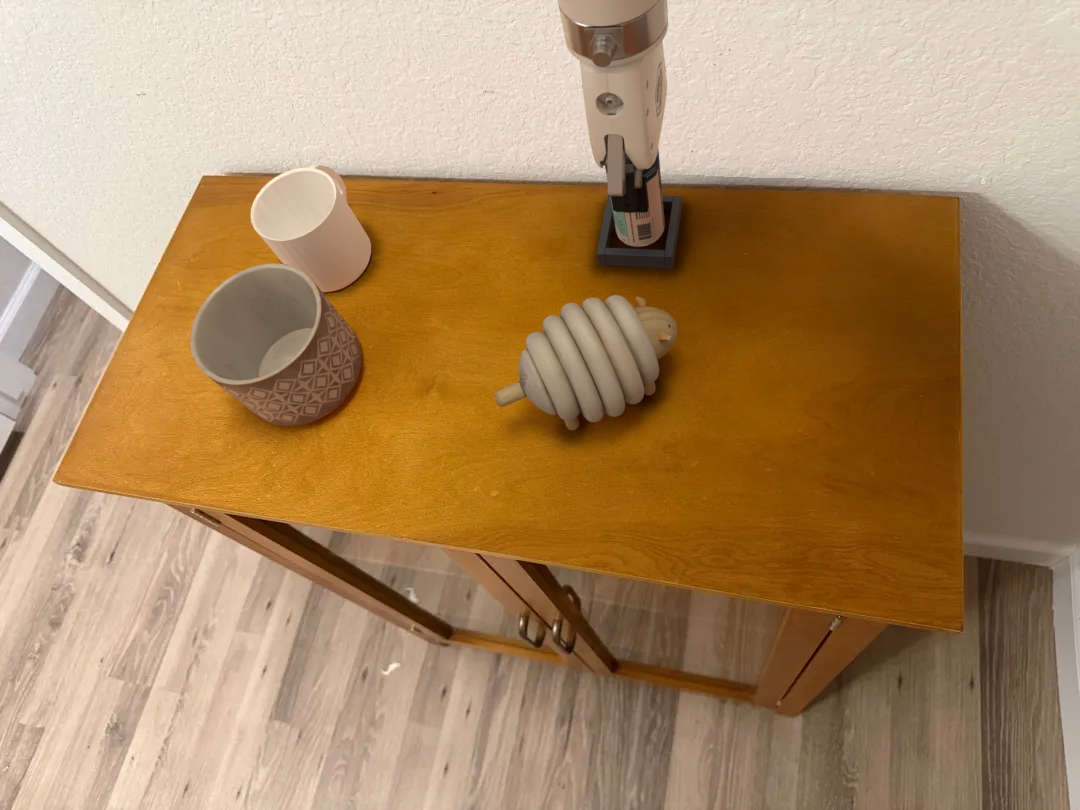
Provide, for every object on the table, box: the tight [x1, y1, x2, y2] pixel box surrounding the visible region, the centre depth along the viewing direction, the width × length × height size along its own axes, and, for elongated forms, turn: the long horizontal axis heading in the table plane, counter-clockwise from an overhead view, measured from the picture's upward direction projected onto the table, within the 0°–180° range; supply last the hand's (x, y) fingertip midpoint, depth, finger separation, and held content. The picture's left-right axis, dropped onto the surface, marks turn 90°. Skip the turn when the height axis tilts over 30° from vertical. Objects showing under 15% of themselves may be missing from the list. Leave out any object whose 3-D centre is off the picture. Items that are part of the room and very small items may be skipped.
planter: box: [189, 262, 363, 427], centre depth 74 cm, size 13×13×10 cm
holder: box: [596, 194, 683, 270], centre depth 77 cm, size 7×7×2 cm
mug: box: [249, 164, 372, 293], centre depth 81 cm, size 12×9×9 cm
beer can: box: [604, 147, 666, 248], centre depth 71 cm, size 5×5×12 cm
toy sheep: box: [494, 294, 679, 431], centre depth 66 cm, size 11×17×11 cm, turn 116°
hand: (635, 184), depth 71 cm, fingers closed on beer can, 4 cm apart
